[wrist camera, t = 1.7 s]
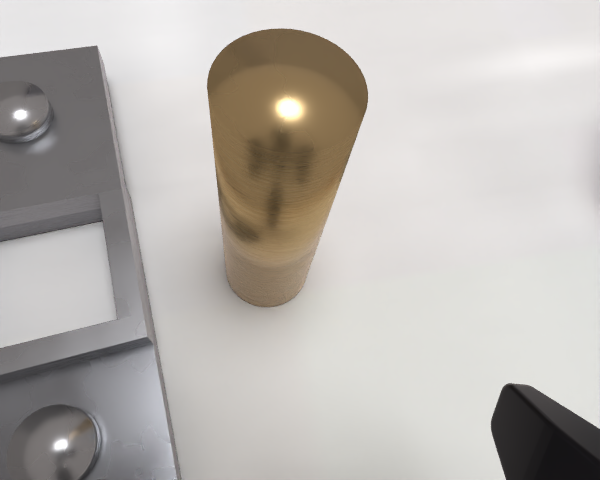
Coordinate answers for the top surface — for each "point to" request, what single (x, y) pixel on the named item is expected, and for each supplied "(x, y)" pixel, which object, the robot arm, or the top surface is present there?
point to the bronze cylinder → (280, 153)
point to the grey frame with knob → (125, 279)
